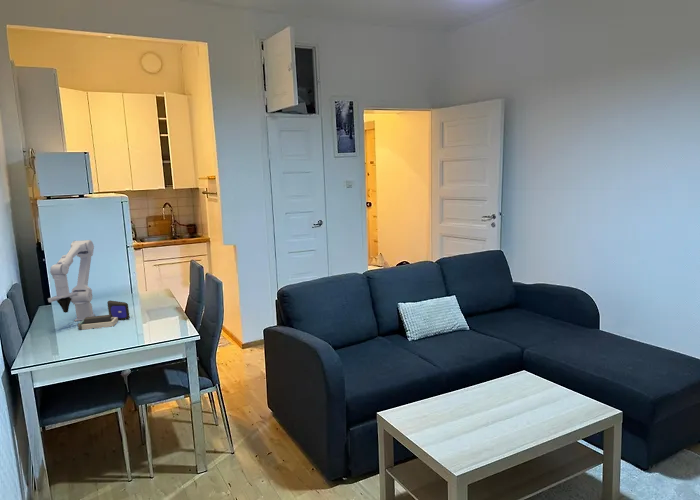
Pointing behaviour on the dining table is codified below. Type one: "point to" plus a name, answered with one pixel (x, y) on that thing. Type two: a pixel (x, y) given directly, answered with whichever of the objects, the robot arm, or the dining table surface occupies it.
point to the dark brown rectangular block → (97, 319)
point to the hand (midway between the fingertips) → (65, 312)
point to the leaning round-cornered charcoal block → (118, 310)
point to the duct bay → (100, 324)
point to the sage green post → (80, 325)
